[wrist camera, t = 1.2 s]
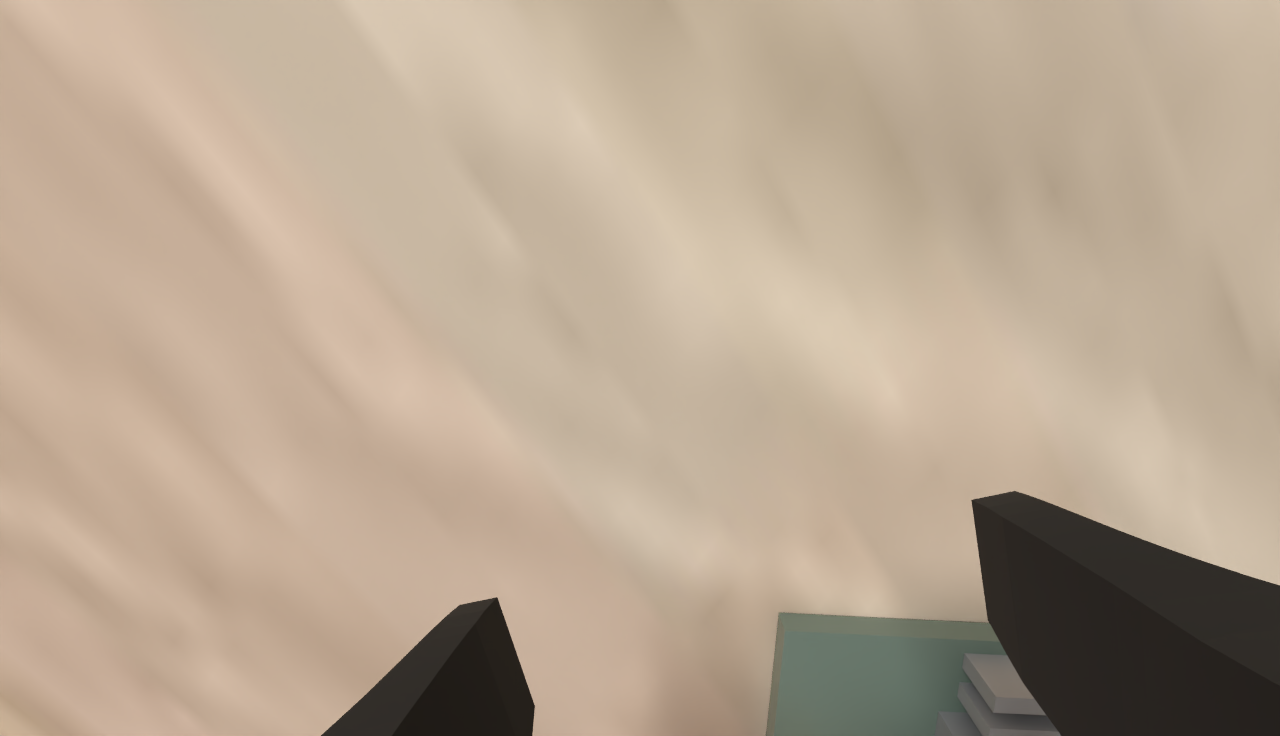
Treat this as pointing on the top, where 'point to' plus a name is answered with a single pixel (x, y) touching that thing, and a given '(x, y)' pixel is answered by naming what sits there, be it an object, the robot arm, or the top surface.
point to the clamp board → (896, 680)
